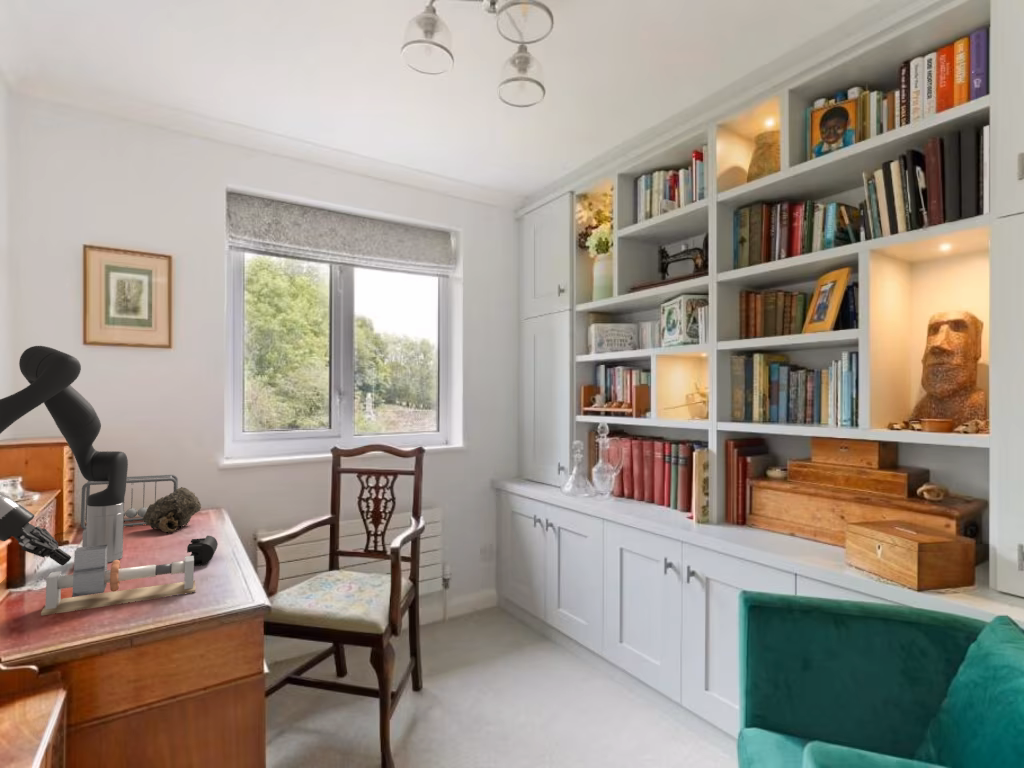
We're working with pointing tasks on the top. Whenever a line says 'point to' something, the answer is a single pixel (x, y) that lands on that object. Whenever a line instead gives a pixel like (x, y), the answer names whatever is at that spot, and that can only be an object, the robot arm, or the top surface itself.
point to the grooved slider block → (89, 570)
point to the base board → (118, 597)
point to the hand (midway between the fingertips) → (67, 561)
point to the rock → (172, 510)
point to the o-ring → (114, 575)
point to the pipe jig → (120, 577)
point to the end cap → (202, 549)
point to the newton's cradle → (131, 512)
